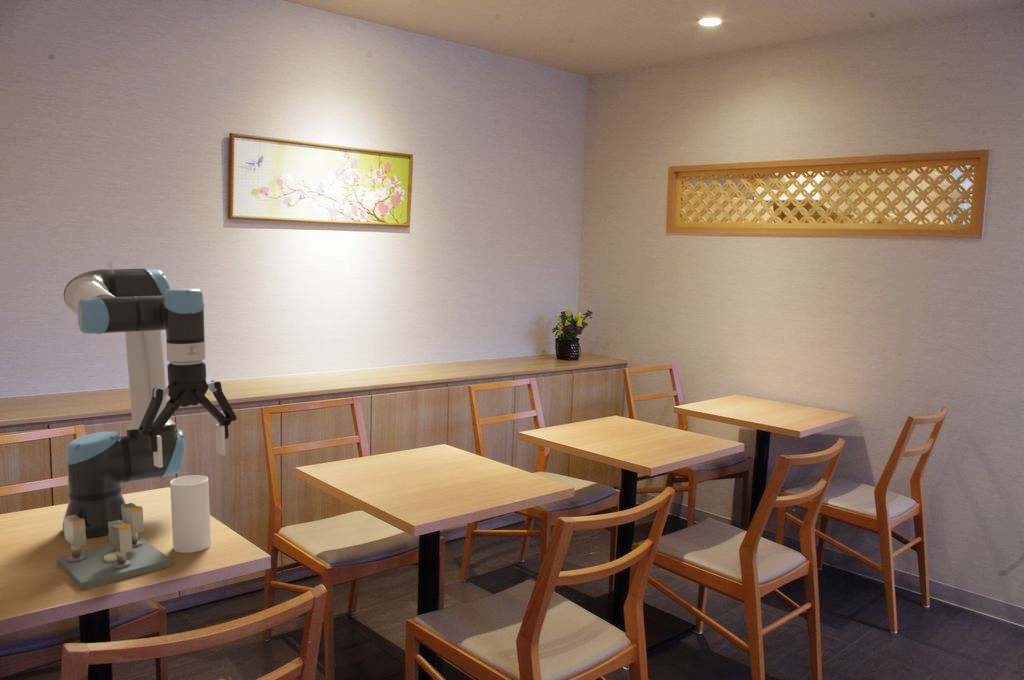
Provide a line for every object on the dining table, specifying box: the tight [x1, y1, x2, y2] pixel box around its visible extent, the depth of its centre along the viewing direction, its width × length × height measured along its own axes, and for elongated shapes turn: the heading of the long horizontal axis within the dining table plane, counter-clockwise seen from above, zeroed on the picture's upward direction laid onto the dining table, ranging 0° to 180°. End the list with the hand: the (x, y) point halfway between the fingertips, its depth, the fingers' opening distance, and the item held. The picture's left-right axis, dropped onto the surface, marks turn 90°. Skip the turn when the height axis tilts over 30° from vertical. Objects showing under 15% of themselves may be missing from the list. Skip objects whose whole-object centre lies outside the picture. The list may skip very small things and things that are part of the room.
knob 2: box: [121, 502, 145, 543], centre depth 182 cm, size 7×2×9 cm, turn 44°
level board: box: [56, 537, 173, 591], centre depth 175 cm, size 18×18×2 cm
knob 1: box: [108, 520, 132, 564], centre depth 171 cm, size 7×2×9 cm, turn 44°
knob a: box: [63, 515, 87, 557], centre depth 174 cm, size 7×2×9 cm, turn 44°
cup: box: [169, 474, 212, 554], centre depth 186 cm, size 8×8×16 cm
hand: (190, 460), depth 170 cm, fingers open, 13 cm apart
